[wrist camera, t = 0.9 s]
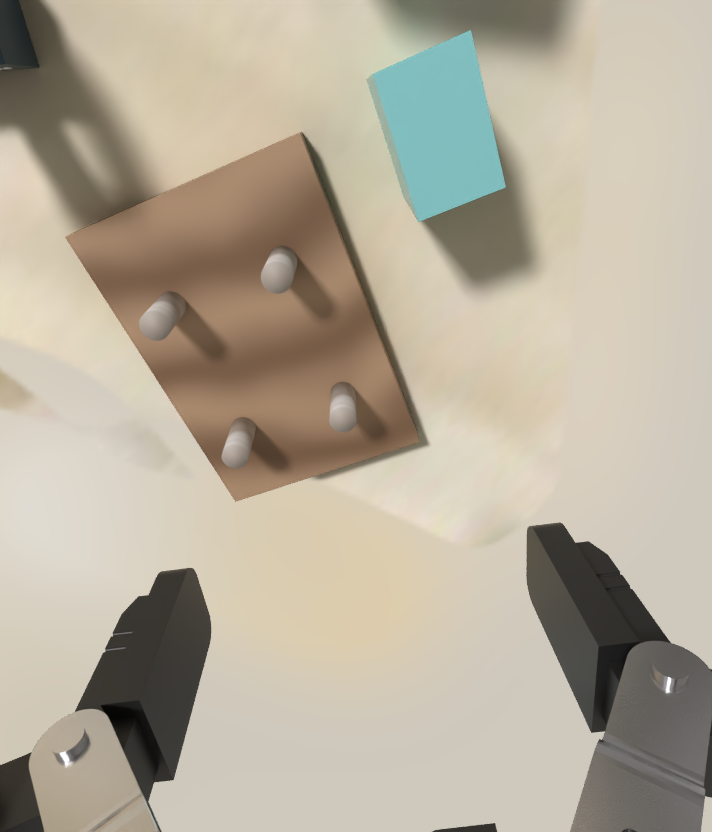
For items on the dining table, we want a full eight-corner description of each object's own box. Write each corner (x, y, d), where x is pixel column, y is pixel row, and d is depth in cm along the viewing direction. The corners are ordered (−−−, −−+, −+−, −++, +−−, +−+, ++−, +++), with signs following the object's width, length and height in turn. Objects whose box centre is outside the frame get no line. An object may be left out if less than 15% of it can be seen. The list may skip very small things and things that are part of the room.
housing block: (366, 78, 27) (372, 73, 21) (442, 45, 27) (470, 29, 21) (403, 196, 30) (418, 221, 24) (472, 168, 30) (505, 187, 24)
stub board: (76, 231, 31) (33, 253, 26) (301, 131, 28) (294, 138, 24) (239, 488, 40) (226, 535, 36) (416, 430, 38) (426, 472, 34)
